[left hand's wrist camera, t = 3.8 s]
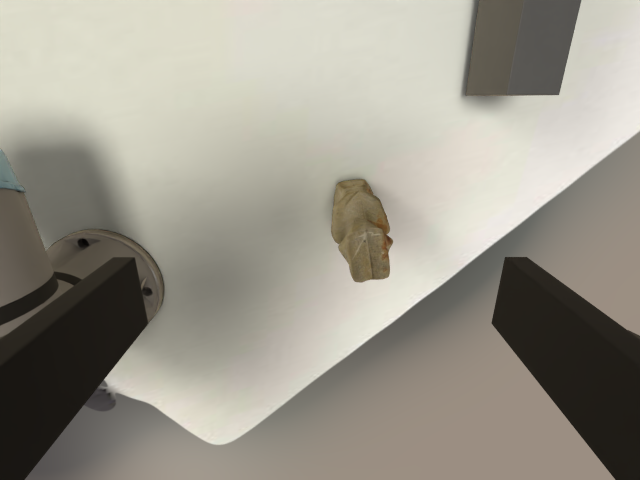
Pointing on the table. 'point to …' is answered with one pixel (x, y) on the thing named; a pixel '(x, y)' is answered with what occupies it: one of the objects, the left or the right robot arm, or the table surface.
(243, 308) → the table surface
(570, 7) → the bar
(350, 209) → the sculpture
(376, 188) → the table surface
